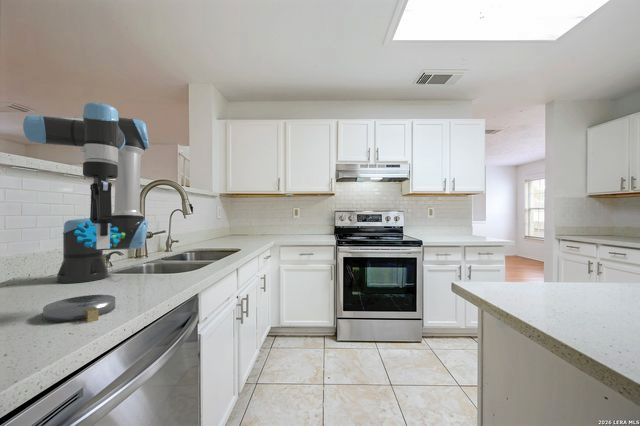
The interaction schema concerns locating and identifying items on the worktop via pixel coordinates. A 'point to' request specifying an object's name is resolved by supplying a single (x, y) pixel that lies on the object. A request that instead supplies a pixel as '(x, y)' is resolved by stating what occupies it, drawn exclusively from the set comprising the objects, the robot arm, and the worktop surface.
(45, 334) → the worktop surface
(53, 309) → the dark grey frying pan
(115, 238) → the gear
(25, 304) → the worktop surface
